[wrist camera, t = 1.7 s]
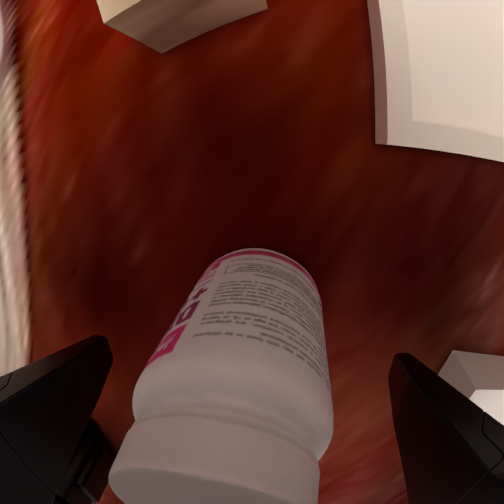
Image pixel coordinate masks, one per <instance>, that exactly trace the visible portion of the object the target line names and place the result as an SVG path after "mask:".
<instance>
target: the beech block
mask: <svg viewBox="0 0 504 504" xmlns="http://www.w3.org/2000/svg"><path fill="white" fill-rule="evenodd" d="M97 3H98V7H99V10H100V13H101V16H102V19H103V22H104V24H106V25H108V26H110V27H112V28H114V29H116V30H118V31H120V32H122V33H124V34H126V35H128V36H130V37H132V38H134V39H136V40H138V41H139V42H141V43H143V44H145V45H147V46H149V47H151V48H152V49H154V50H156V51H158V52H160V53H161V54H162V53H164V52H166V51H168V50H170V49H172V48H174V47H176V46H178V45H180V44H182V43H184V42H186V41H188V40H190V39H192V38H195V37H197V36H199V35H201V34H203V33H206V32H208V31H210V30H213V29H215V28H217V27H220V26H222V25H225V24H227V23H230V22H232V21H235V20H238V19H240V18H243V17H246V16H249V15H251V14H254V13H257V12H260V11H263V10H266V9H268V7H267V2H266V0H97Z"/></svg>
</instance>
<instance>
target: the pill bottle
mask: <svg viewBox="0 0 504 504" xmlns="http://www.w3.org/2000/svg"><path fill="white" fill-rule="evenodd" d="M132 406H133V414H134V417H135V422H134V424H133V425H132V428H131V429H130V430H129V431H128V432H127V433H126V436H125V438H124V440H123V443H122V445H121V447H120V450H119V452H118V454H117V456H116V458H115V461H114V463H113V465H112V467H111V470H110V473H109V478H108V480H109V484H110V487H111V489H112V490H113V492H114V493H115V494H116V495H117V496H118V497H119V498H120V499H121V500H122V501H123V502H124V503H125V504H318V489H319V479H320V470H319V465H318V460H319V459H320V458H321V457H322V456H323V454H324V453H325V451H326V450H327V448H328V446H329V444H330V441H331V438H332V434H333V405H332V396H331V386H330V378H329V370H328V361H327V353H326V345H325V336H324V326H323V314H322V303H321V299H320V295H319V292H318V289H317V286H316V284H315V282H314V280H313V279H312V277H311V276H310V274H309V273H308V272H307V271H306V270H305V269H304V268H303V267H302V266H301V265H300V264H299V263H297V262H296V261H294V260H293V259H291V258H289V257H288V256H285V255H283V254H281V253H278V252H275V251H272V250H267V249H260V248H247V249H241V250H237V251H234V252H231V253H228V254H226V255H224V256H222V257H221V258H219V259H217V260H216V261H215V262H214V263H212V264H211V265H210V266H209V267H208V268H207V269H206V271H205V272H204V273H203V275H202V276H201V277H200V279H199V281H198V282H197V284H196V286H195V287H194V289H193V291H192V292H191V294H190V295H189V297H188V299H187V300H186V302H185V303H184V305H183V306H182V308H181V310H180V311H179V313H178V314H177V316H176V317H175V319H174V321H173V323H172V324H171V326H170V327H169V329H168V330H167V332H166V333H165V335H164V337H163V339H162V340H161V342H160V344H159V345H158V347H157V348H156V350H155V352H154V353H153V355H152V356H151V358H150V360H149V361H148V363H147V365H146V366H145V368H144V370H143V372H142V373H141V375H140V377H139V379H138V381H137V383H136V386H135V389H134V393H133V399H132Z"/></svg>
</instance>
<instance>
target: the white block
mask: <svg viewBox="0 0 504 504" xmlns="http://www.w3.org/2000/svg"><path fill="white" fill-rule="evenodd" d="M438 375H439V376H440V377H441V378H442V379H444V380H445V381H446V382H448V383H449V384H450V385H452V386H453V387H454V388H456V389H457V390H458V391H459V392H461V393H462V394H463V395H465V396H466V397H467V398H468V399H470V400H471V401H472V402H474V403H475V404H476V405H477V406H479V407H480V408H481V409H483V412H484V411H485V412H487V413H488V414H489V415H490V416H492V417H493V418H494V419H496V420H497V421H498V422H500V423H501V424H502V425H504V356H497V355H488V354H480V353H472V352H464V351H456V350H453V351H452V352H451V354H450V356H449V357H448V359H447V361H446V362H445V364H444V366H443V367H442V369H441V370H440V372H439V374H438Z"/></svg>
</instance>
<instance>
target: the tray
mask: <svg viewBox="0 0 504 504" xmlns="http://www.w3.org/2000/svg"><path fill="white" fill-rule="evenodd" d="M367 5H368V13H369V21H370V31H371V41H372V53H373V68H374V89H375V144H385V145H395V146H405V147H414V148H422V149H430V150H437V151H444V152H450V153H457V154H463V155H469V156H474V157H480V158H485V159H490V160H495V161H500V162H504V0H367Z"/></svg>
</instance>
